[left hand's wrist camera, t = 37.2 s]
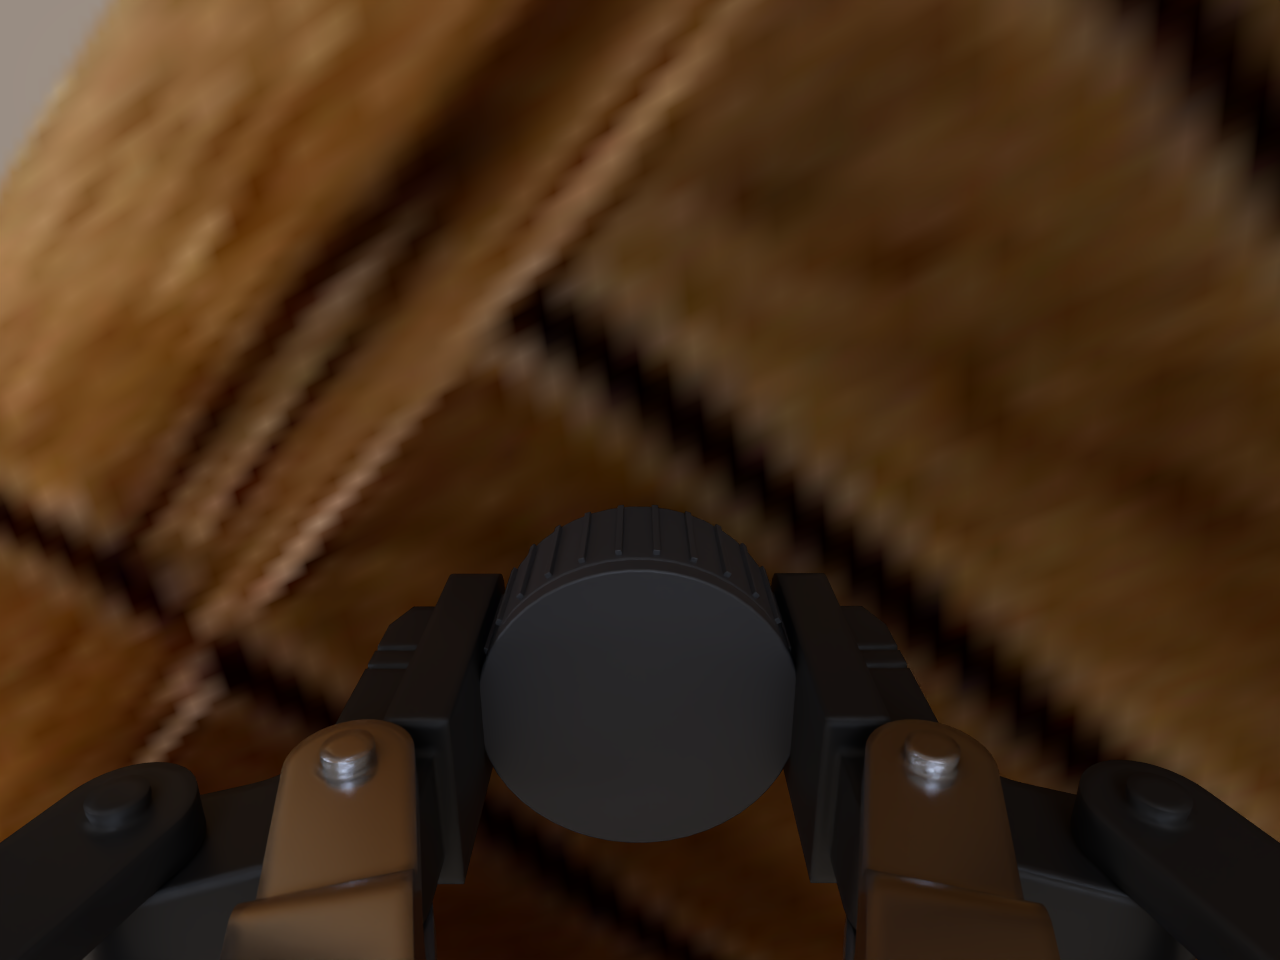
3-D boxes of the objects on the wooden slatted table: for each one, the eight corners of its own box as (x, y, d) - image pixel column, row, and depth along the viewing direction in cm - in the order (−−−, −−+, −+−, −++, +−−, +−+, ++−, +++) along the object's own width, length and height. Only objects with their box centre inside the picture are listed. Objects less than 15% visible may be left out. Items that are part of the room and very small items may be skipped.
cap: (822, 687, 13) (855, 777, 11) (578, 785, 13) (568, 887, 11) (709, 452, 11) (723, 509, 9) (443, 574, 12) (408, 650, 10)
